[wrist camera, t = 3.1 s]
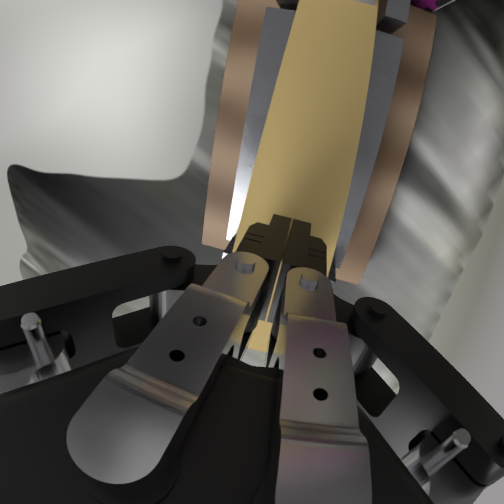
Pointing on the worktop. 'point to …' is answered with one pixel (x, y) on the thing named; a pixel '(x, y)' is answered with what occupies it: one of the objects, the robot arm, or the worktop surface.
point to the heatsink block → (375, 115)
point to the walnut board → (390, 150)
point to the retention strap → (313, 126)
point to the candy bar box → (431, 4)
